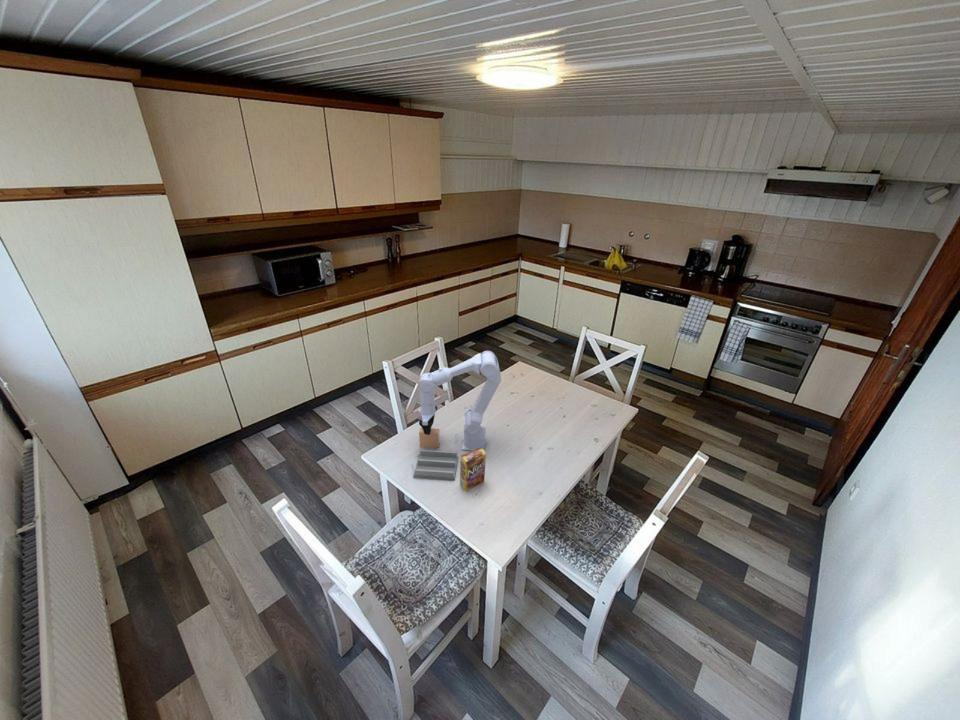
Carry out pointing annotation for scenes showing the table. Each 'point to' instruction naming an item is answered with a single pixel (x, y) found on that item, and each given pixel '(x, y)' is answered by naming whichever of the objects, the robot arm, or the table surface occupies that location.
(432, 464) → the rack
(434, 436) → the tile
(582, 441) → the table surface
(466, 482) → the candy box
